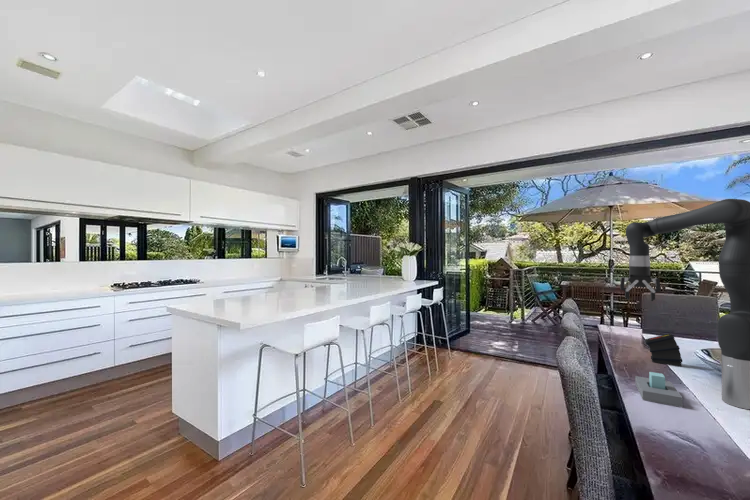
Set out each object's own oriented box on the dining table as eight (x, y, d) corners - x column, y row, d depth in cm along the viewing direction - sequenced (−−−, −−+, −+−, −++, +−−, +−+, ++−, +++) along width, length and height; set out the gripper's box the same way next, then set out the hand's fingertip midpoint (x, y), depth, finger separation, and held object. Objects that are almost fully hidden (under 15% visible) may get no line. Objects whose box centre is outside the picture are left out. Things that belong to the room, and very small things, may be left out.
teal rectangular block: (662, 394, 123) (662, 373, 123) (665, 398, 120) (665, 377, 120) (649, 391, 126) (649, 371, 126) (651, 395, 122) (651, 375, 122)
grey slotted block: (635, 384, 132) (635, 376, 132) (670, 390, 127) (670, 381, 127) (642, 399, 119) (642, 390, 119) (682, 407, 113) (682, 397, 113)
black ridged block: (691, 365, 149) (672, 334, 153) (657, 371, 156) (640, 341, 160) (690, 363, 152) (671, 332, 156) (657, 369, 159) (640, 340, 163)
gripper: (657, 265, 146) (658, 300, 146) (619, 264, 153) (619, 298, 153) (661, 266, 140) (662, 302, 140) (621, 265, 147) (621, 300, 147)
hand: (639, 300), depth 147 cm, fingers open, 8 cm apart
